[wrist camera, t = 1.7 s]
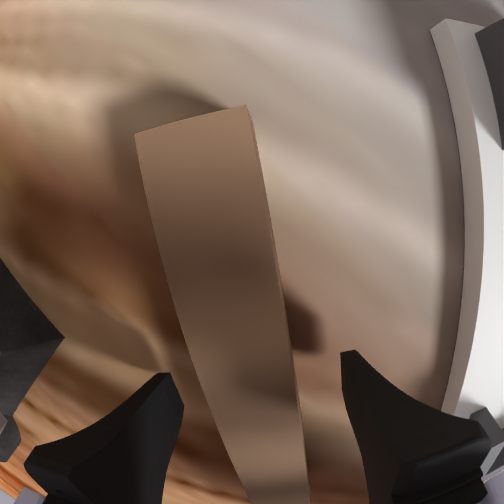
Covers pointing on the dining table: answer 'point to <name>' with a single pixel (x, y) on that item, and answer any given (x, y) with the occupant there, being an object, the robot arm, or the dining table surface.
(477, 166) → the end cap cradle
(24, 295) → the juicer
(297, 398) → the walnut slat
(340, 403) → the dining table surface
